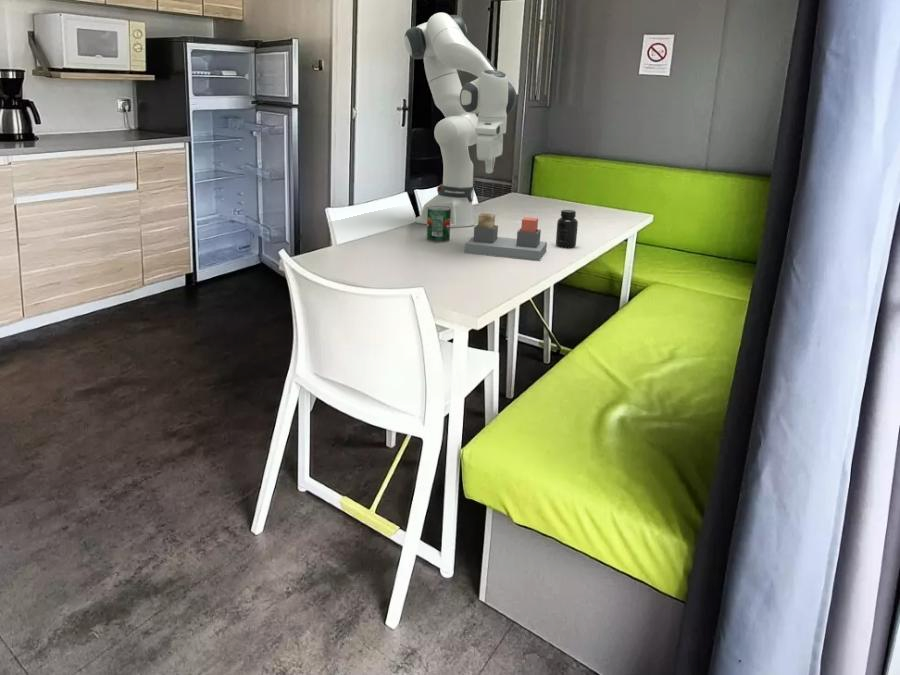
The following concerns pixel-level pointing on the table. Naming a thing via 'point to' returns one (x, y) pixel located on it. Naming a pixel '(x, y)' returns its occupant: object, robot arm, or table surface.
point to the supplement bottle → (567, 229)
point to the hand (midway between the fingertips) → (489, 172)
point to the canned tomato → (438, 223)
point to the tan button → (486, 220)
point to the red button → (529, 225)
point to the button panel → (506, 244)
